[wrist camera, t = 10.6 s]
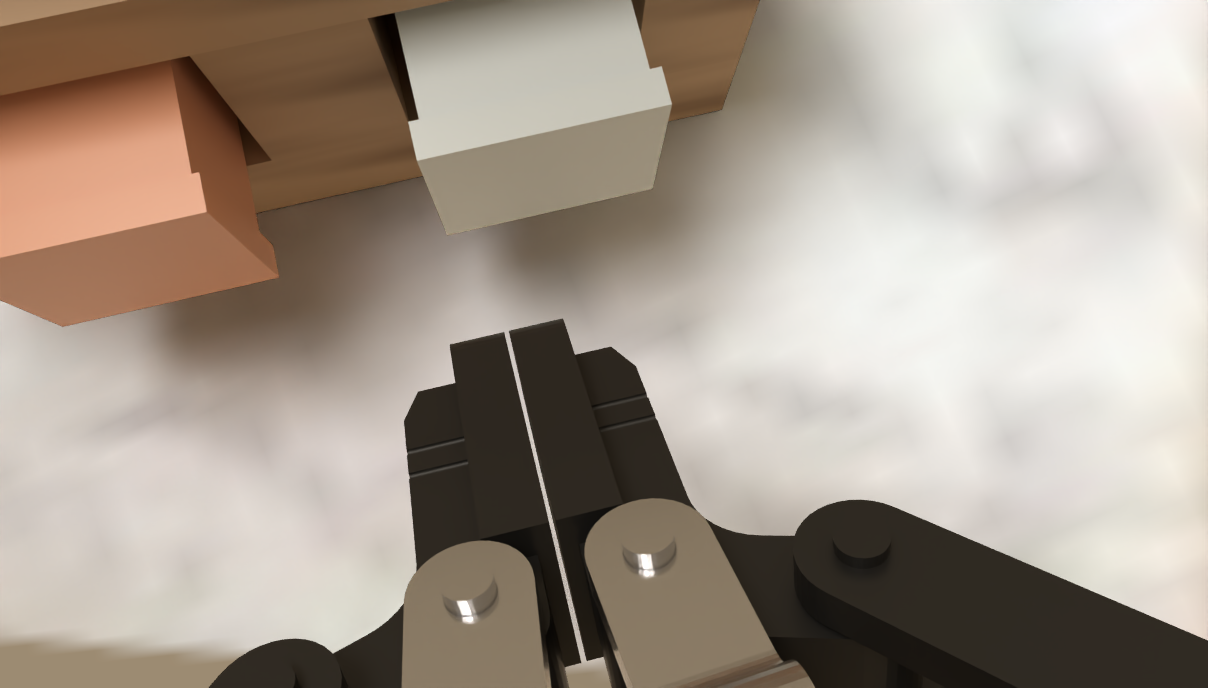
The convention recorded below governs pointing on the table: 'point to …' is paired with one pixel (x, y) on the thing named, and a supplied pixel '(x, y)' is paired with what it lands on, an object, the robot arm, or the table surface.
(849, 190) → the table surface
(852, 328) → the table surface
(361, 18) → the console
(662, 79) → the grey key
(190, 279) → the salmon key
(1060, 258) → the table surface
